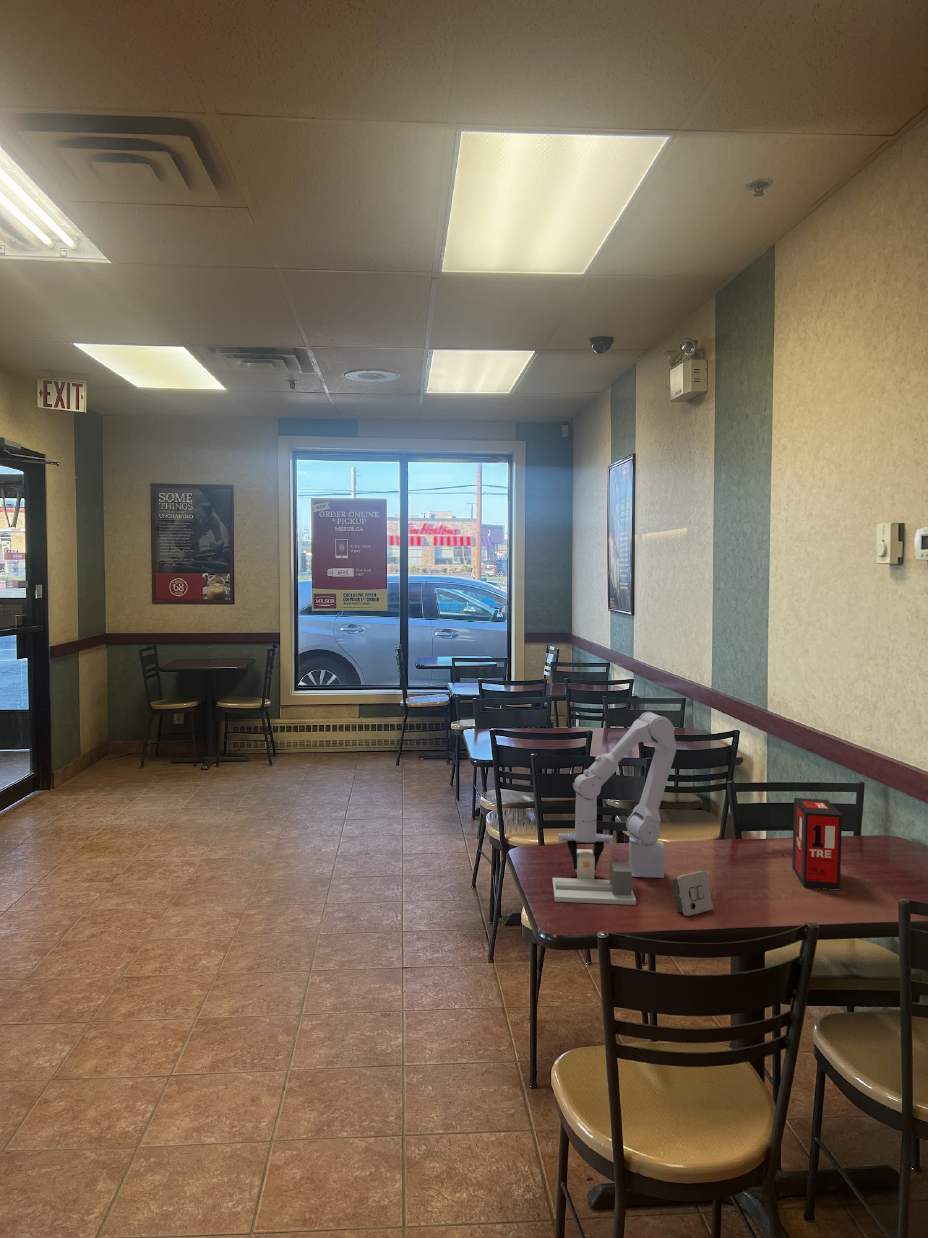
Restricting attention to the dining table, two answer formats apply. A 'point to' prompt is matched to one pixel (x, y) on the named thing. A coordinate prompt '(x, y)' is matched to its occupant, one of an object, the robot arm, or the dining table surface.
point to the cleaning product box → (817, 843)
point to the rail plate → (598, 887)
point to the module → (585, 864)
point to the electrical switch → (692, 893)
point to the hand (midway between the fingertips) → (584, 868)
